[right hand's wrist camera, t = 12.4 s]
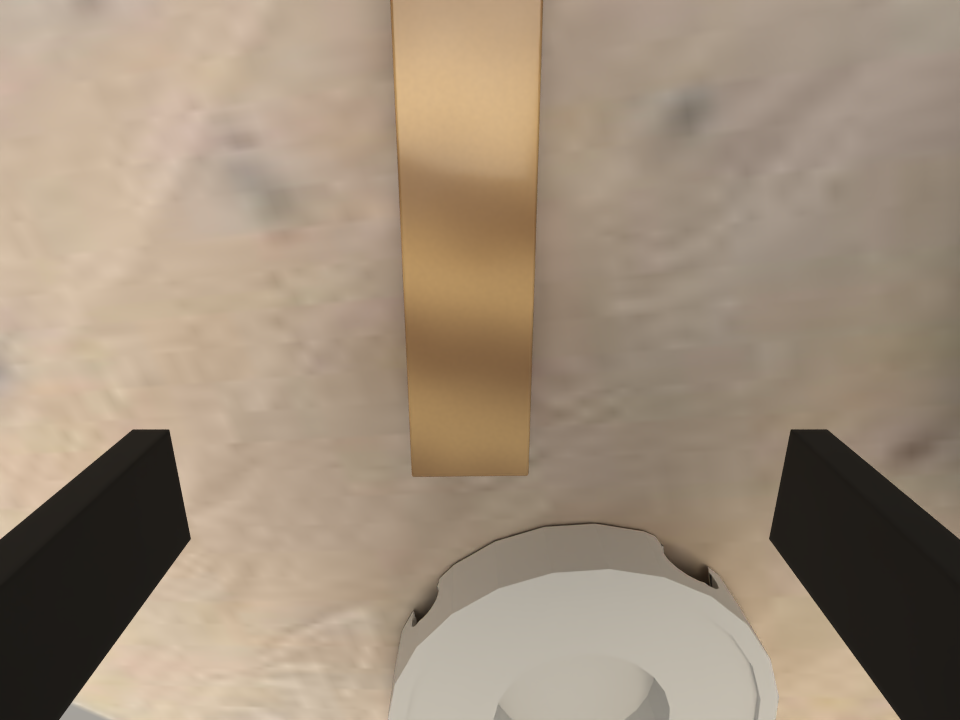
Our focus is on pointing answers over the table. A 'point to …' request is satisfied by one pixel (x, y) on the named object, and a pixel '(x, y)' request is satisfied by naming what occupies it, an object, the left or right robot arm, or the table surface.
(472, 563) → the ashtray
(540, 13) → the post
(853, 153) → the table surface
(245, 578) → the table surface
